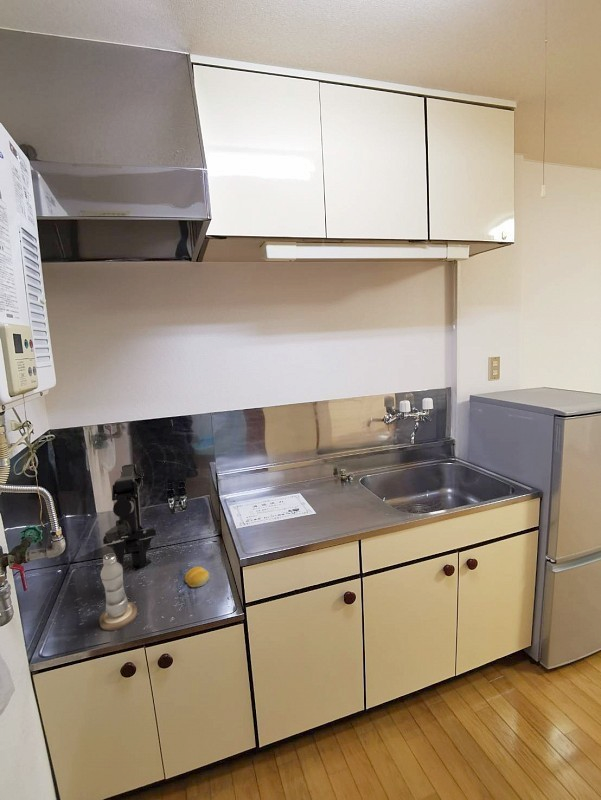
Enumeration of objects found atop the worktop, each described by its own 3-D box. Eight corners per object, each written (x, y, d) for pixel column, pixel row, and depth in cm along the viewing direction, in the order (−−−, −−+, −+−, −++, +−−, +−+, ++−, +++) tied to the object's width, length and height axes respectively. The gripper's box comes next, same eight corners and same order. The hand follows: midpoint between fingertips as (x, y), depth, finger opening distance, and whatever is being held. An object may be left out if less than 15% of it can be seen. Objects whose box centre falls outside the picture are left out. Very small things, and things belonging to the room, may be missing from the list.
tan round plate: (94, 619, 126) (93, 615, 126) (127, 600, 134) (126, 596, 134) (109, 636, 119) (108, 631, 119) (143, 614, 127) (142, 610, 127)
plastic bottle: (103, 621, 123) (93, 563, 119) (112, 606, 129) (102, 551, 126) (124, 619, 123) (115, 561, 120) (132, 604, 130) (123, 549, 126)
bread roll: (193, 591, 137) (192, 581, 136) (182, 580, 144) (180, 570, 143) (214, 580, 142) (213, 570, 142) (202, 570, 149) (201, 560, 148)
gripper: (88, 522, 134) (91, 570, 131) (130, 515, 128) (135, 565, 125) (114, 517, 144) (117, 561, 141) (154, 510, 138) (159, 556, 135)
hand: (131, 561), depth 135 cm, fingers open, 9 cm apart
